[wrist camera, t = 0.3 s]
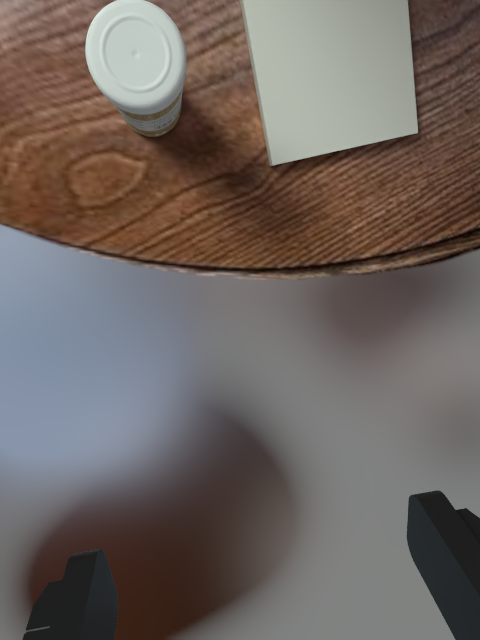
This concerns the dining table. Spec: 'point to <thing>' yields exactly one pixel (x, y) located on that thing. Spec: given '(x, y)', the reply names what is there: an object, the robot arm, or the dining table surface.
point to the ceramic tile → (330, 73)
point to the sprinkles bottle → (138, 64)
